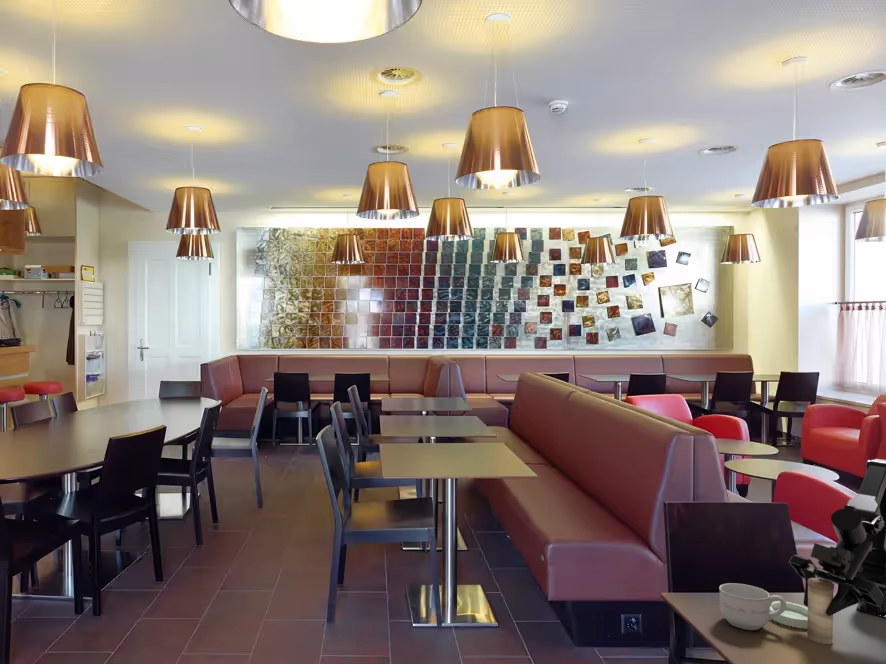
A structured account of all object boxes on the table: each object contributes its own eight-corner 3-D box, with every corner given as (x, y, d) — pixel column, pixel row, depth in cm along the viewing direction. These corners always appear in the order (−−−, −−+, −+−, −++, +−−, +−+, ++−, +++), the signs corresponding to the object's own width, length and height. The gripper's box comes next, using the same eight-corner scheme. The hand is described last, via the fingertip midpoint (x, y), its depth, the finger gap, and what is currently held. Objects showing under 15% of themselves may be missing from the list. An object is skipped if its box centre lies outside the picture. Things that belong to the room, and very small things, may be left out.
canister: (809, 631, 140) (810, 576, 141) (834, 638, 137) (835, 582, 137) (804, 638, 137) (805, 582, 137) (830, 646, 133) (831, 588, 134)
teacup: (716, 627, 141) (717, 592, 141) (719, 610, 150) (720, 577, 151) (786, 643, 134) (787, 606, 134) (785, 624, 144) (785, 589, 144)
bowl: (773, 605, 154) (773, 597, 154) (820, 618, 147) (820, 610, 147) (762, 618, 146) (762, 610, 146) (811, 632, 140) (811, 623, 140)
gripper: (794, 520, 147) (761, 572, 143) (876, 544, 130) (841, 604, 126) (816, 549, 150) (784, 601, 146) (898, 577, 133) (865, 637, 129)
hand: (816, 609), depth 136 cm, fingers closed on canister, 5 cm apart
